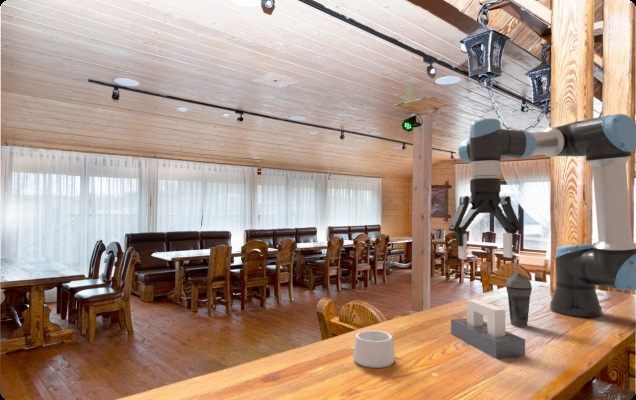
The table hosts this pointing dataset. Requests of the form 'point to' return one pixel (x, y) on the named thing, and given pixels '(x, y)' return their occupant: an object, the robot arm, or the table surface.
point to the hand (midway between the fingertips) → (485, 258)
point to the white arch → (493, 317)
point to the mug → (373, 349)
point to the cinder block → (488, 340)
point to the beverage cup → (518, 298)
